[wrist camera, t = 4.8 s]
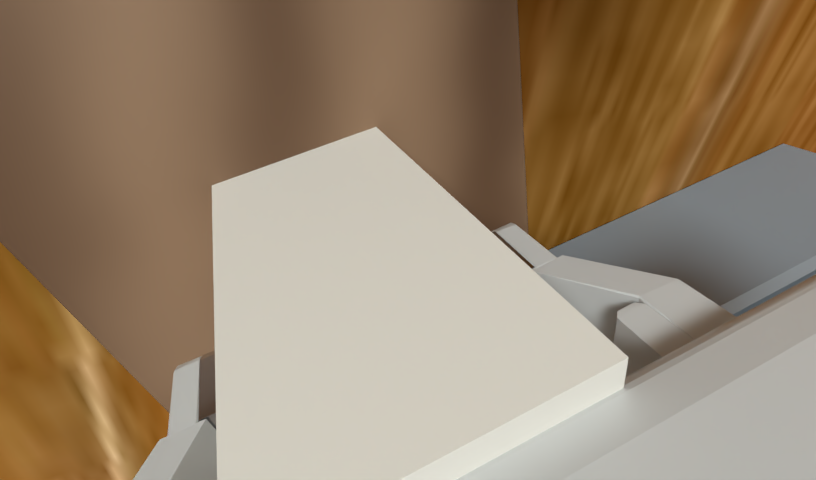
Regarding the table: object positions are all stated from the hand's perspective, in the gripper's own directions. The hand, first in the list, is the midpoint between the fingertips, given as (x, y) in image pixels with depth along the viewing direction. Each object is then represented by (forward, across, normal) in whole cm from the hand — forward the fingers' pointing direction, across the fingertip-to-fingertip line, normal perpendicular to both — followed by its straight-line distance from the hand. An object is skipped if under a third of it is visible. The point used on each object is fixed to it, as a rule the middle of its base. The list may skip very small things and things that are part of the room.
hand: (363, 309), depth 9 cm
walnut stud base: (+6, 0, 0) cm, 6 cm away
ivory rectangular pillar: (+4, 0, 0) cm, 4 cm away
